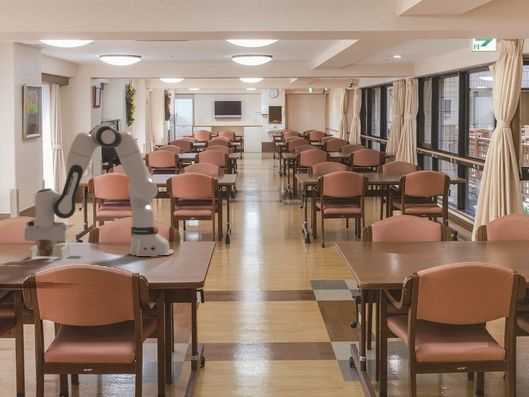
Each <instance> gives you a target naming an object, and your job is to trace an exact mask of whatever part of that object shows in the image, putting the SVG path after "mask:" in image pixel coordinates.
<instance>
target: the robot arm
mask: <svg viewBox="0 0 529 397" xmlns="http://www.w3.org/2000/svg"><path fill="white" fill-rule="evenodd" d="M99 147H101V148H113V149H115V151H116V154H117V156H118V159H119V161H120V164H121V167H122V169H123V172H124V174H125V175H126V177H127V178H128V180H129V182H128V183H127V190H128V193H129V194H128V195H129V202H130V208H131V226H130V232H131V233H130V234H131V244H130V250H129V254H130V255H132V256H135V255H136V256H135V257H138V256H151V257H158V256H157V255H169V254H172V253H173V252H175V251H174V249H172V248H171V249H170V243H169V241H168V240H167V238H165V237H164V236H162V234H159V226H156V225H155V215H154V214H155V212H154V208H153V207H154V206H153V204H152V200H153V199H154V198H156V197H157V195H158V191H159V190H158V186H157V184H156V183H155V180H154V179H153V176H152V174H151V173H150V171H149V169H148V167H147V165H146V162H145V160H144V158H143V155H142V152H141V150H140V147H139V145H138V143H137V141H136V138H135V137H134V135H133V134H132V133H131V132H130V131H125V130H124V131H120V132H119V131H118V130H117V129H116V128H114V127H113V126H111V125H109V124H106V123H105V124H99V125H96V126H95V127H94V128H93V129H91V130H90V131H89V132H83V131H82V132H79V133H77V134H76V135H75V137H74V139H73V141H72V143H71V146H70V148H69V151H68V154H67V159H66V171H67V172H66V180H65V183H64V186H63V189H62V192H61V193H59V192H58V191H56V190H54V189H52V188H43V189H40V190H38V191H37V192H36V193H35V194H36V195H35V197H34V198H35V201H34V205H35V207H34V208H35V212H36V213H35V218H34V219H33V218H32V219H30V220H28V221H26V222H25V228H24V232H23V233H24V234H23V236H24V237H23V238H24V240H25V241H26V242H34V243H35V245H37V247H38V250H39V240H50V241H53V246H51V250H55V245H57V243H58V242H65V241H66V240H68V234H67V228H68V227H67V224H66V223H64V222H62V221H61V222H59V221H55V220H56V219H55V216H56V217H58V218H59V219H64V220H65V219H69V218H71V217H72V216H73V215H74V214H75V212H76V201H75V200H76V196H77V193H78V189H79V185H80V182H81V180H82V178H83V177H84V175H85V172H86V171H87V169H88V167H89V166H90V163H91V161H92V158H93V154H94V152H95V150H96V148H99ZM173 254H174V253H173ZM173 254H172V255H173Z"/></svg>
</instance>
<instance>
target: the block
mask: <svg viewBox="0 0 529 397" xmlns="http://www.w3.org/2000/svg"><path fill="white" fill-rule="evenodd" d="M53 244H54V243H53V241H50V240H39V256H48V257H50V256H51V255H53V250H51V246H53Z"/></svg>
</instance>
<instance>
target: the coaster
mask: <svg viewBox="0 0 529 397" xmlns="http://www.w3.org/2000/svg"><path fill="white" fill-rule="evenodd" d="M82 257H83V255H68V256H67V257H65V258H66V259H72V260H73V259H75V260H77V259H78V260H79V259H80V258H82Z"/></svg>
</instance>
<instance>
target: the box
mask: <svg viewBox="0 0 529 397" xmlns="http://www.w3.org/2000/svg"><path fill="white" fill-rule="evenodd" d="M69 256H70V244H56V245H55V250H53V255H51V256H50V257H48V256H39V250H38V247H37V245H36V244H35V245H34V246H31V247H30V248H29V259H30V260H63V259H64V258H67V257H69Z"/></svg>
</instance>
